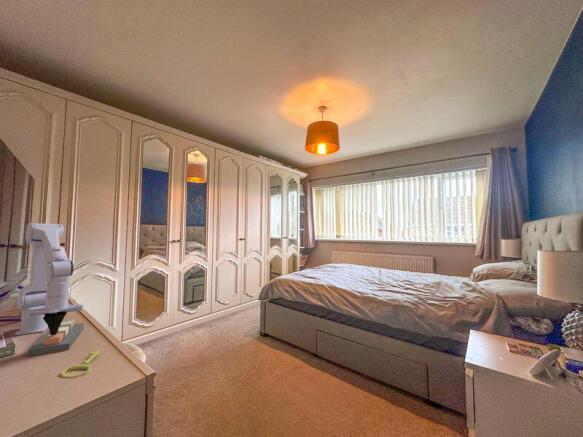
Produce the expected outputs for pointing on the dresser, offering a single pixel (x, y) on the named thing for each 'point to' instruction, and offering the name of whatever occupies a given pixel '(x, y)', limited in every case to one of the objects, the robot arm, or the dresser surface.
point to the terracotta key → (53, 339)
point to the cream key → (63, 330)
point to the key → (80, 366)
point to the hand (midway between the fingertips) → (54, 334)
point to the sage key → (67, 324)
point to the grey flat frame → (62, 346)
